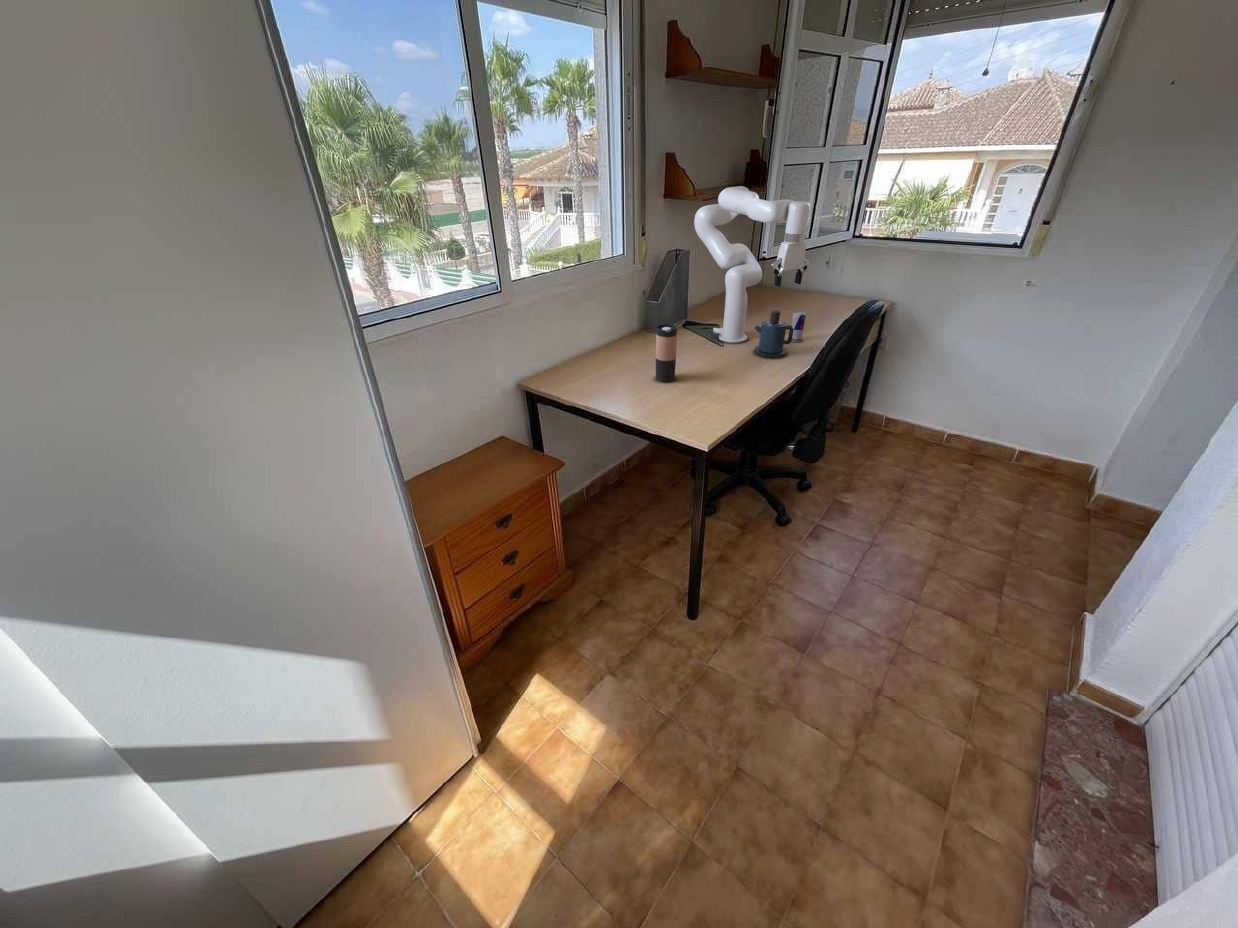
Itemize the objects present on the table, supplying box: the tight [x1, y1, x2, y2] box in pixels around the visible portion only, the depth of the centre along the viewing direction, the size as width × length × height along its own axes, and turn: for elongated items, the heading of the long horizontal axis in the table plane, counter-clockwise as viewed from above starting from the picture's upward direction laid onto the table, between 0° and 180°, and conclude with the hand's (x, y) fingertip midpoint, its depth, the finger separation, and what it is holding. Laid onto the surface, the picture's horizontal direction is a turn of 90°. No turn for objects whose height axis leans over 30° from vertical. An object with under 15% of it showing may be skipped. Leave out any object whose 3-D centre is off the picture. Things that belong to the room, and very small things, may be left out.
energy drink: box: [790, 311, 807, 343], centre depth 231 cm, size 5×5×12 cm
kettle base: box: [753, 345, 787, 360], centre depth 221 cm, size 13×13×2 cm
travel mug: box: [655, 323, 678, 383], centre depth 194 cm, size 8×8×20 cm
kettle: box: [754, 309, 794, 353], centre depth 216 cm, size 16×10×16 cm, turn 70°
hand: (787, 284), depth 206 cm, fingers open, 9 cm apart
